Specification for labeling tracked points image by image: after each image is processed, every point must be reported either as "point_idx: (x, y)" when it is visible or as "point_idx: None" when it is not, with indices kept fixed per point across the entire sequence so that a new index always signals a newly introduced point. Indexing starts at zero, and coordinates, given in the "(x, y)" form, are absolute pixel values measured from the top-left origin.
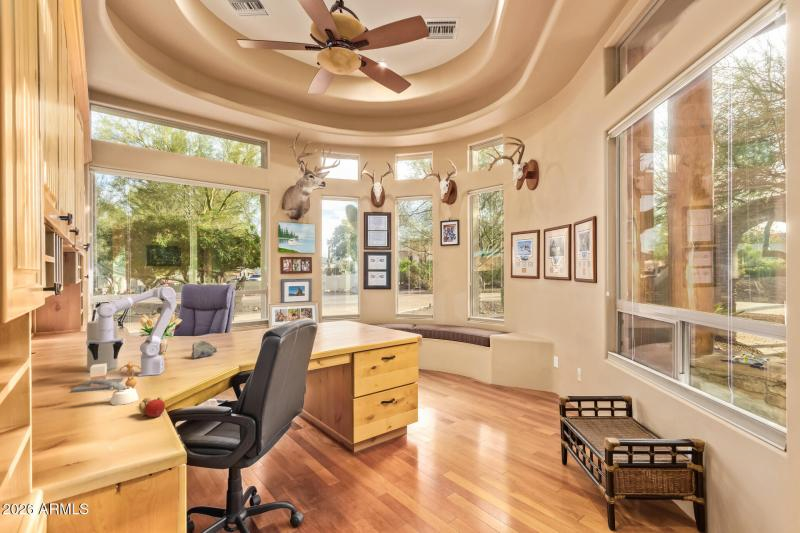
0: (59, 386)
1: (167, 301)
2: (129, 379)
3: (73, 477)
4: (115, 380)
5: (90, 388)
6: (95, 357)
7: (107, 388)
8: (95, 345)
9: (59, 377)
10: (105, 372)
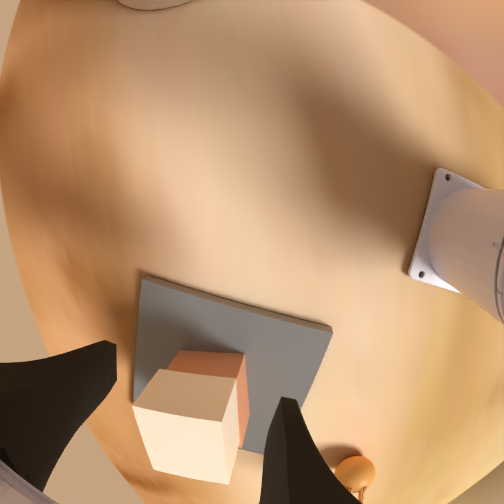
0: (57, 267)
1: None
2: (350, 492)
3: None
4: (292, 367)
5: None
6: (102, 398)
7: None
8: (24, 471)
9: (34, 78)
10: (236, 430)
